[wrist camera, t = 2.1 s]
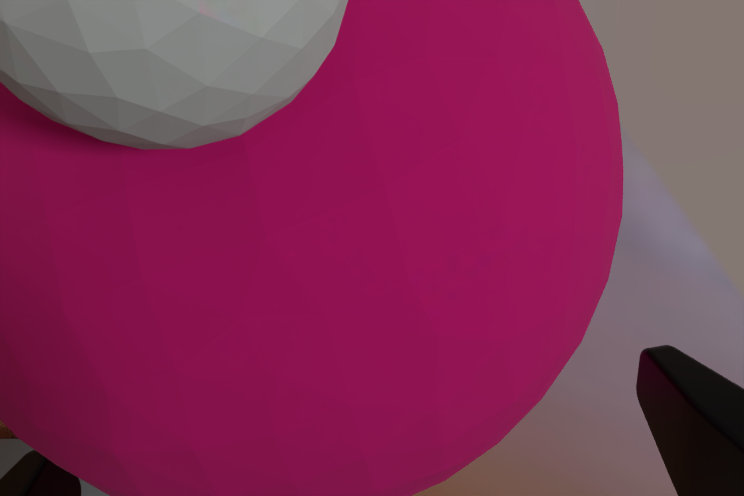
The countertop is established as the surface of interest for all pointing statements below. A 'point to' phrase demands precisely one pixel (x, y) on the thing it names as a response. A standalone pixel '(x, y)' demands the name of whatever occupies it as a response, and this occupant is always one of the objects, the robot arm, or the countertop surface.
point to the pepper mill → (295, 235)
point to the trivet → (10, 450)
